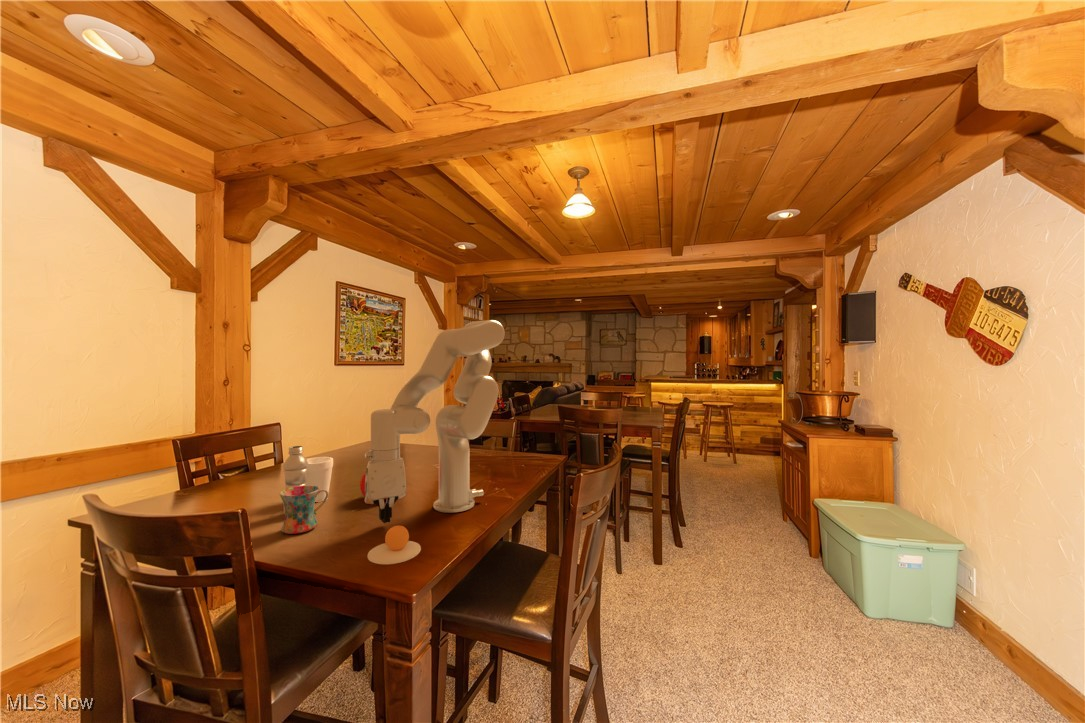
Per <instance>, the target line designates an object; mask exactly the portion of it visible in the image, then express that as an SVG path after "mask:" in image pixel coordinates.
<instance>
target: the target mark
mask: <svg viewBox="0 0 1085 723" xmlns="http://www.w3.org/2000/svg"><path fill="white" fill-rule="evenodd" d="M421 551H422V546H421V545H420V543H418V542H415V541H412V540H408V542H407V544H406V545H405V546H404V547H403V548H402V549H399V550H392V549H390V548H389V547H388V546H387V545H386V543H381V544H379V545H376V546H375V547H373V548H372V549H370V550H369V551H368V553H367V560H368V561H369V562H371V563H373V564H376V565H383V566H384V565H395V564H400V563H403V562H407V561H410V560H411V559H413V558H415V557H417V556H418V555H419V554H420V553H421Z"/></svg>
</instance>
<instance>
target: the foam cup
mask: <svg viewBox="0 0 1085 723" xmlns="http://www.w3.org/2000/svg"><path fill="white" fill-rule="evenodd" d="M306 460H307V462H308V469H307V476H306V486H307V485H312V486H317V487H319V491H320V490H326V491H327V492H328V495H329V493H330V485H331V478H332V471H333V466H334V458H333V457H329V456H318V457H316V456H315V457H310V458H306ZM325 497H326V492H324V491H323V492H320V493H319V494H318V495H317V496H316V499H315V502H318V503H320V502H319V501H324V499H325ZM328 498H329V497H328ZM328 498H327V500H328Z"/></svg>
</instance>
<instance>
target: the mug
mask: <svg viewBox="0 0 1085 723" xmlns="http://www.w3.org/2000/svg"><path fill="white" fill-rule="evenodd" d="M323 491H324V492H326V497H325V499H324V501H323V502H321V503H320V504H319V506H318V507H316V508H315V504H316V503H315V499H316V496H317V495H318V494H319V493H320V492H323ZM278 495H279V496H280V498H281V500H282V503H283V505H284V507H285V513H284V514H285V515H284V516H285V517H284V522H283V524H282V527H281V532H282V533H284V534H289V535H292V534H293V535H296V534H302V533H305V532H308V531H311V530H313V529H314V528H316V527H317V526H318V524H319V523H318V520H317V519H316V516H315V515H318V513H317V511H318V510H319V509H321V508H322V506H324V504H326V501H327V500H328V499H327V498H329V494H328V492H327V491H326V490H320V491H319V487H317V486H312V485H307V486H297V487H292V488H288V489H286V488H285V489H283V490H281V491H280V492H279V494H278Z"/></svg>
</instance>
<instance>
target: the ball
mask: <svg viewBox="0 0 1085 723" xmlns="http://www.w3.org/2000/svg"><path fill="white" fill-rule="evenodd" d="M384 538H385V539H384V540H385V541H384V542H385V543H386V545H387V546H388V547H389V548H390V549H392V550H399V549H402V548H403V547H404V546H405V545H406V544H407V542H408V541H410V540H409V539H410V534H409V530H408V529H407V528H406V527H405V526H403V525H394V526H392V527H390V528H389V529H388V530H387V531H386V533H385V536H384Z"/></svg>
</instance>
